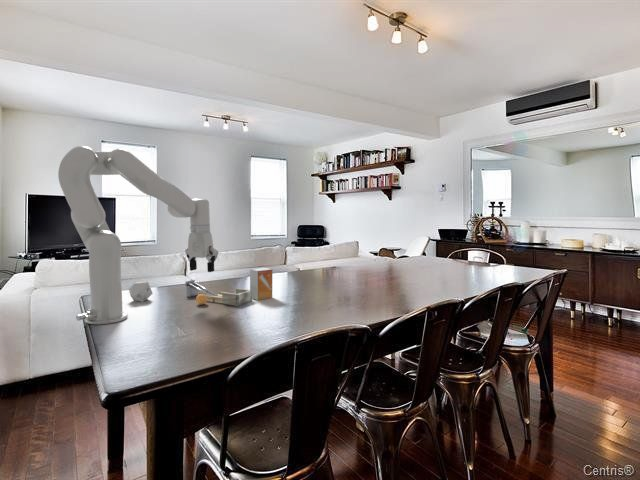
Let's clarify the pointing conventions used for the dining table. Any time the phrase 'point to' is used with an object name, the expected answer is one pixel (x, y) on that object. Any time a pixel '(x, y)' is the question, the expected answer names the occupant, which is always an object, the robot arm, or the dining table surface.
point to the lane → (232, 297)
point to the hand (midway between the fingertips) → (202, 270)
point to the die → (140, 291)
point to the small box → (261, 283)
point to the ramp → (197, 289)
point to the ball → (201, 299)
